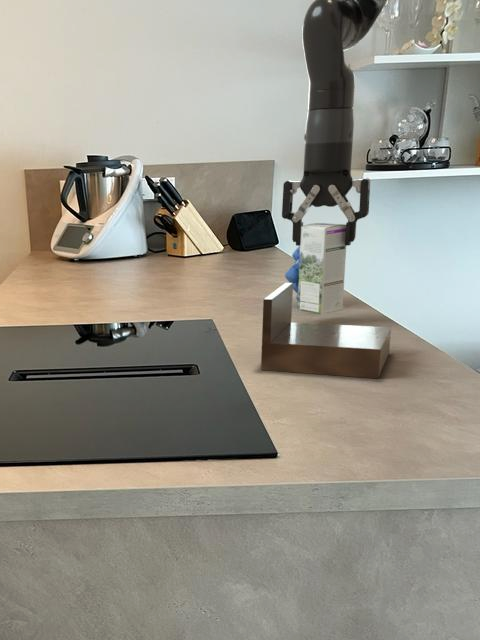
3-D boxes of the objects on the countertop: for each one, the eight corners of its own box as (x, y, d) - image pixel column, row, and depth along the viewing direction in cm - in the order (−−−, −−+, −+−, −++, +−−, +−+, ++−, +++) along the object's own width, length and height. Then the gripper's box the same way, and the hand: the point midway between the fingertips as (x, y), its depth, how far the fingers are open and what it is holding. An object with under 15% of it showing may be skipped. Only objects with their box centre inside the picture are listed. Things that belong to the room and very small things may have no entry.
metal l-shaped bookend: (388, 353, 117) (395, 286, 113) (378, 378, 106) (385, 303, 102) (282, 347, 123) (285, 282, 119) (260, 370, 111) (263, 299, 108)
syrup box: (344, 310, 137) (349, 223, 131) (320, 315, 134) (325, 226, 128) (319, 306, 141) (323, 221, 136) (295, 311, 138) (299, 224, 133)
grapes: (273, 301, 158) (275, 239, 153) (305, 299, 159) (308, 238, 154) (293, 312, 148) (297, 246, 143) (327, 310, 148) (332, 244, 144)
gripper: (377, 138, 127) (369, 242, 134) (289, 142, 133) (285, 242, 139) (371, 138, 121) (363, 248, 127) (279, 142, 126) (276, 247, 133)
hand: (322, 245), depth 133 cm, fingers closed on syrup box, 7 cm apart
